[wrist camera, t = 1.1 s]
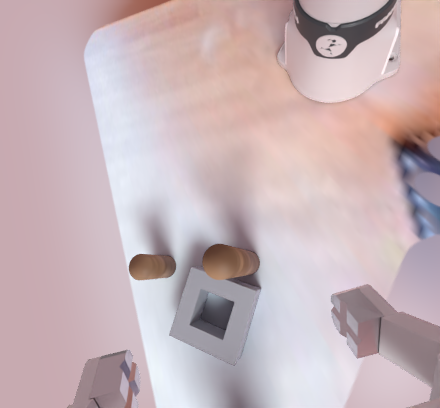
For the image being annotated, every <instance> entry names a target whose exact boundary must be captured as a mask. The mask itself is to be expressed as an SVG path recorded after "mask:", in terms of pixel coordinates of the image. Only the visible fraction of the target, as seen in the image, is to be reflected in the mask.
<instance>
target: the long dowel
mask: <svg viewBox="0 0 440 408" xmlns="http://www.w3.org/2000/svg"><path fill="white" fill-rule="evenodd" d="M259 265H260V261H259V258H258V256H257V255H256V254H255V253H254V252H252V251H248V250H244V249H240V248H236V247H232V246H228V245H224V244H215V245H213V246H211V247H209V248H208V249H207V250H206V252H205V254H204V256H203V268H204V270H205V272H206V274H207V275H208V276H209V277H211V278H213V279H215V280H224V279H229V278H235V277H240V276H245V275H251V274H253V273H255V272H256V271H257V270H258V268H259Z"/></svg>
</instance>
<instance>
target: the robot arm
mask: <svg viewBox="0 0 440 408" xmlns="http://www.w3.org/2000/svg"><path fill="white" fill-rule="evenodd" d="M400 30H401V0H293V10H292V11H291V12H290V15H289V22H287V23H286V25H285V41H284V43H283V45H282V47H281V49H280V50H279V52H278V54H277V62H278V63H279V65H280V66H281V67H283V68H284V69H285V70H286V71H287V72H288V74H289V77H290V79H291V82H292V83H293V85H294V87H295V88H296V89H297V90H298V91H299V92H300V93H301V94H303V95H304V96H306V97H307V98H310V99H312V100H315V101H319V102H327V103H333V102H341V101H345V100H349V99H351V98H354V97H356V96H358V95H360V94H362V93H363V92H365V91H366V90H367V89H368V88H370V87H371V86H372V85H373V84H374V83H376V82H377V81H379V80H382V79H384V78H387V77H389V76H392V75H394V74H395V73H396V72H397V71H398V69H399V66H400ZM389 59H392V61H390V60H389ZM331 302H332V304H333V305H334V307H333V309H332V310H331V312H332V319H333V322H334V325H335V327H336V329H337V330H338V332H339V333H340V334H341V335H343V336H345V337H347V345H348V346H349V348H350V349H351V350H352V352H353V353H354V355H355V356H356V358H361V357H365V356H369V355H373V354H376V353H379V355H381V356H382V357H384V358H386V359H387V360H389V361H390V362H392V363H393V364H395V365H397V366H399V367H400V368H401V369H403V370H405V371H406V372H408V373H409V374H411V375H413V376H414V377H416V378H417V379H419V380H420V381H422V382H424V383H425V384H427V385H429V386H430V387H431V388H432V389H431V394H430V400H429V401H428V402H424V403H421V404H418V405H414V406H411V407H408V408H440V327H439V326H437V325H434V324H432V323H429V322H426V321H424V320H421V319H419V318H416V317H414V316H411V315H409V314H406V313H404V312H399V313H398V312H397V311H396V310H395V309H394V308H393V307H392V306H391V305H390V304H389V303H388V302H387V301H386V300H385V299H384V298H383V297H382V296H381V295H379V294H378V293H377V292H376V291H375V290H374V289H373V288H372V287H371V286H370V285H368V284H367V285H363V286H360V287H356V288H352V289H349V290H345V291H342V292H338V293H335V294H332V296H331ZM132 358H133V355H132V353H131V351H130V350H125V351H121V352H117V353H113V354H109V355H105V356H101V357H97V358H94V359H89V360H88V361H87V362H86V364H85V367H84V370H83V374H82V376H81V380H80V383H79V386H78V389H77V393H76V396H75V399H74V403H73V404H72V405H69V406H68V407H67V408H138V401H137V399H136V396H137V394H138V393H139V391H140V374H139V370H138V367H137V364H135V363H133V362H132Z"/></svg>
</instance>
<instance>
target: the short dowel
mask: <svg viewBox="0 0 440 408" xmlns="http://www.w3.org/2000/svg"><path fill="white" fill-rule="evenodd" d="M175 269H176V263H175V261H174V259H173V258H172V257H170V256H164V255H149V254H138V255H136V256H134V257H133V258H132V260H131V261H130V264H129V272H130V274H131V276H132V277H133V278H134V279H136V280H147V279H158V278H168V277H170V276H172V275H173V274H174V272H175Z"/></svg>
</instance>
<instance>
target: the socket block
mask: <svg viewBox="0 0 440 408" xmlns="http://www.w3.org/2000/svg"><path fill="white" fill-rule="evenodd" d="M260 290H261V288H258V287H255V286H253V285H250V284H247V283H245V282H242V281H239V280H236V279H234V278H229V279H224V280H215V279H213V278H211V277H209V276H208V275H207V274H206V272H205V270H204V268H203V267H191V269H190V272H189V276H188V279H187V282H186V285H185V288H184V291H183V294H182V297H181V300H180V303H179V306H178V309H177V312H176V315H175V318H174V322H173V325H172V328H171V331H170V334H169V335H170V336H172V337H174V338H176V339H178V340H180V341H183V342H185V343H187V344H189V345H191V346H193V347H195V348H197V349H199V350H202V351H204V352H206V353H208V354H210V355H212V356H214V357H216V358H218V359H220V360H223V361H225V362H227V363H229V364H231V365H233V366H235V364H236V363H237V361H238V360H239V358H240V357H241V355H242V351H243V348H244V345H245V341H246V338H247V334H248V331H249V328H250V324H251V321H252V318H253V314H254V311H255V307H256V304H257V301H258V297H259V294H260ZM209 292H210V293H213V294H215V295H218V296H220V297H223V298H225V299H228V300H230V301H233V302H234V306H233V309H232V312H231V316H230V319H229V322H228V325H227V329H226V330H224V329H222V328H219V327H217V326H215V325H212V324H210V323H208V322H205V321H203V320H201V319H200V318H201V315H202V312H203V309H204V305H205V302H206V299H207V296H208V293H209Z"/></svg>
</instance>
